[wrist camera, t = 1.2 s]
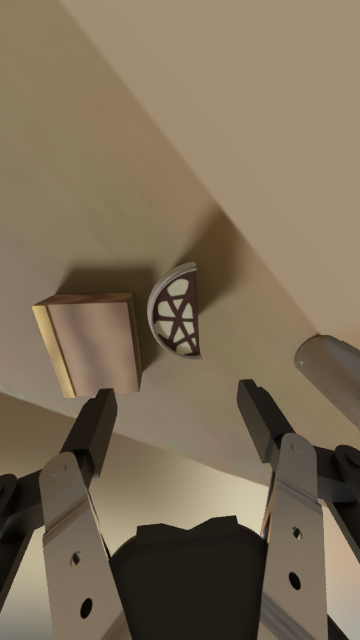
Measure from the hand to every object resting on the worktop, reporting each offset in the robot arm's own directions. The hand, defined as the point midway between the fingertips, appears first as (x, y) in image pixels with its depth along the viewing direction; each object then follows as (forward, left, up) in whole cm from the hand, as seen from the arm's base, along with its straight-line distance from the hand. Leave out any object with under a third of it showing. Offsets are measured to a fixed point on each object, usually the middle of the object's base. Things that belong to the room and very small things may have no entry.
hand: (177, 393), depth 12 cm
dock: (+12, +7, -20) cm, 24 cm away
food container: (0, 0, -20) cm, 20 cm away
